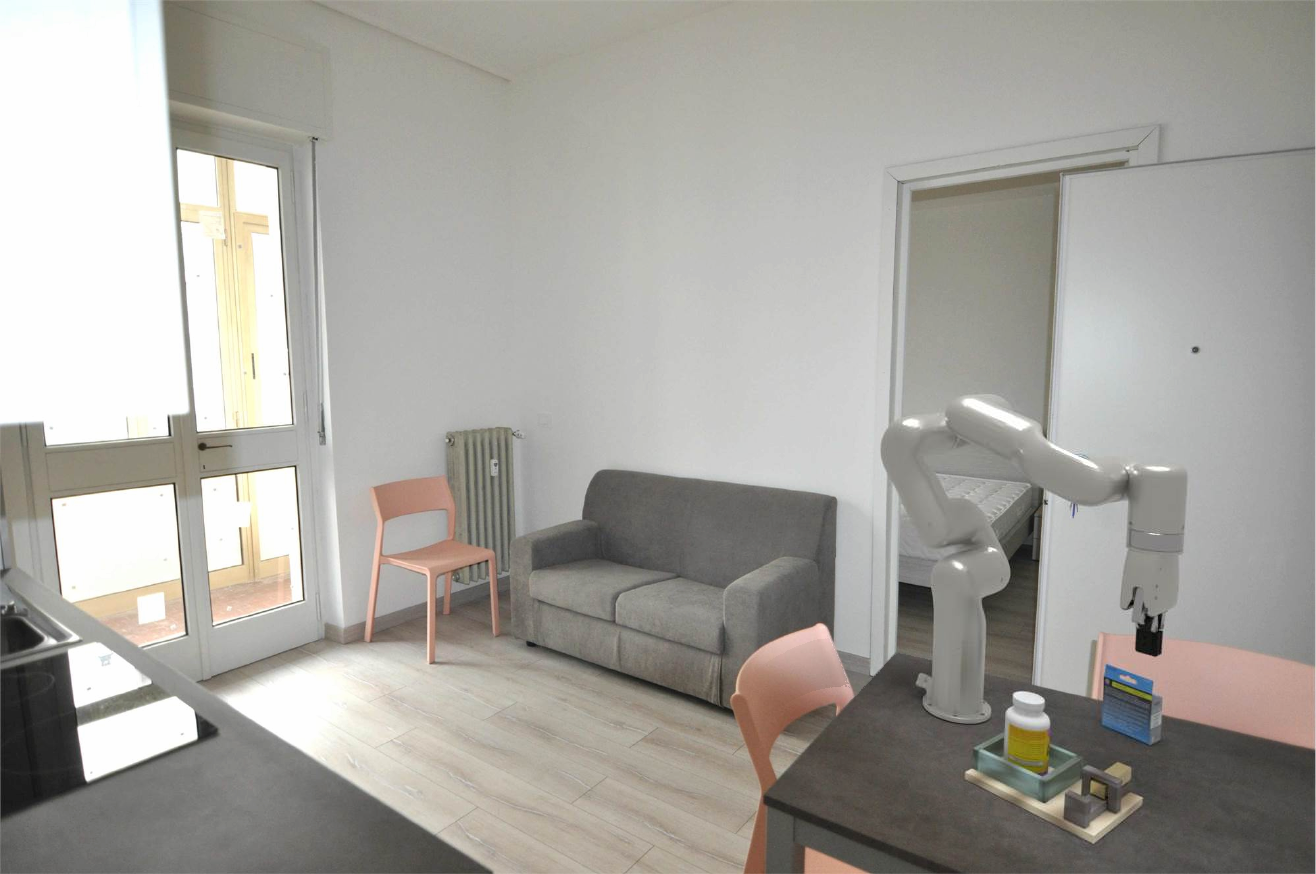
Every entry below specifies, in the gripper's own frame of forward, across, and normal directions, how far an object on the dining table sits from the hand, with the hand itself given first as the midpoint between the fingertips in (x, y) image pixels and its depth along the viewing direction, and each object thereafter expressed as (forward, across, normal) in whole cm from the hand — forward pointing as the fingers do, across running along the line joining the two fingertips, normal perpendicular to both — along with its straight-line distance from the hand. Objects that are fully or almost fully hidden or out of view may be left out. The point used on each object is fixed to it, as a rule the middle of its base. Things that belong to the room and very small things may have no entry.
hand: (1148, 652), depth 116 cm
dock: (+22, +14, -7) cm, 27 cm away
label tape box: (+22, -17, -8) cm, 29 cm away
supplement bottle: (+21, +14, -12) cm, 28 cm away
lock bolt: (+19, +10, 0) cm, 22 cm away
